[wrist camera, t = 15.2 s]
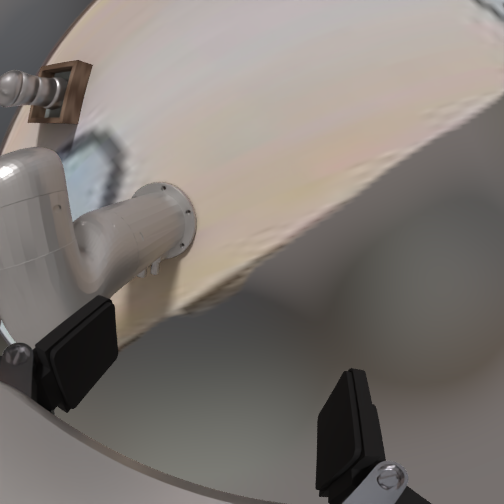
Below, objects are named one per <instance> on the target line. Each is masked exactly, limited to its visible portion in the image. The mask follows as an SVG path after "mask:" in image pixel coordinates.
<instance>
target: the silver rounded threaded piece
mask: <svg viewBox="0 0 504 504" xmlns="http://www.w3.org/2000/svg"><path fill="white" fill-rule="evenodd" d="M67 85H68V81H67V80H65V79H63V78H58V77H54V78H44V77H38V76H33V75H29V74H26V73H24V72H21V71H18V70H12V71H9V72H7V73H5V74H3V75H2V76H1V77H0V106H2V107H12V106H19V105H35V106H40V107H43V108H46V109H50V110H55V109H59V108H61V107H62V105H63V101H64V96H65V92H66V88H67Z"/></svg>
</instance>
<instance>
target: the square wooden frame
mask: <svg viewBox="0 0 504 504" xmlns="http://www.w3.org/2000/svg"><path fill="white" fill-rule="evenodd" d="M92 66H93V65H91V64H88V63H85V62H82V61H79V60H75V61H69V62H63V63H57V64H52V65H47V66H43V67H41V69H40V72H39V75H38V77H44V78H54V77H58V78H63V79H65V80H67V81H68V85H67V88H66V92H65V96H64V101H63V105H62V107H61V108H59V109H55V110H50V109H46V108H43V107H40V106H35V105H31V108H30V113H29V118H28V123H67V124H78V121H79V116H80V111H81V107H82V102H83V98H84V94H85V90H86V86H87V83H88V79H89V76H90V72H91V69H92Z"/></svg>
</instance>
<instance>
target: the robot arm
mask: <svg viewBox="0 0 504 504" xmlns="http://www.w3.org/2000/svg"><path fill="white" fill-rule="evenodd" d="M165 187H166V189H165ZM189 210H190V211H191V213H189ZM196 222H197V219H196V214H195V210H194V207H193V204H192V203H191V201H190V199H189V198H188V197H187V195H186V194H185V193H184V192H183V191H182V190H180V189H179V188H178V187H176V186H174V185H172V184H169V183H165V182H156V183H151V184H147V185H145V186H143V187H141V188H140V189H139V190H138V191H137V192H136V193H135V194H134V195H133V196H132V198H131V199H129V200H125V201H122V202H119V203H115V204H112V205H109V206H106V207H102V208H99V209H96V210H93V211H90V212H87V213H85V214H83V215H81V216H80V217H79V218H77V219H76V220H75V221H74V222H72V216H71V210H70V204H69V198H68V191H67V185H66V178H65V173H64V168H63V164H62V161H61V159H60V158H59V156H58V155H57V154H56V153H55V152H54V151H53V150H51V149H48V148H44V147H31V148H25V149H20V150H16V151H13V152H10V153H7V154H4V155H2V156H0V325H1V320H2V322H3V324H4V326H5V327H6V329H7V331H8V332H9V334H10V335H11V337H12V338H13V339H14V341H15V342H16V343H14V344H11V345H9V346H8V347H7V348H6V349H5V350H4V352H3V354H2V356H0V504H285V503H278V502H271V501H265V500H260V499H254V498H249V497H244V496H239V495H235V494H231V493H227V492H223V491H219V490H215V489H211V488H208V487H204V486H201V485H198V484H194V483H191V482H188V481H185V480H182V479H179V478H177V477H174V476H171V475H168V474H165V473H163V472H160V471H158V470H155V469H153V468H151V467H148V466H146V465H143V464H141V463H139V462H137V461H134V460H132V459H130V458H128V457H126V456H124V455H122V454H120V453H118V452H116V451H114V450H112V449H110V448H108V447H106V446H104V445H102V444H100V443H98V442H97V441H95V440H93V439H92V438H90V437H88V436H86V435H85V434H83V433H81V432H80V431H78V430H76V429H75V428H73V427H72V426H70V425H69V424H67V423H65V422H64V421H62V420H61V419H59V418H58V417H56V416H55V413H54V409H55V408H56V407H57V406H58V407H59V408H60V409H62V410H64V411H65V412H66V413H68V412H69V410H70V409H74V408H75V407H76V406H77V405H78V404H79V403H80V401H81V400H82V399H83V398H84V397H85V395H86V394H87V393H88V392H89V391H90V389H91V388H92V387H93V386H94V385H95V383H96V382H97V381H98V380H99V379H100V378H101V376H102V375H103V374H104V373H105V372H106V370H107V369H108V368H109V367H110V366H111V365H112V363H113V362H114V361H115V360H116V358H117V356H118V346H117V334H116V320H115V306H114V304H112V301H111V300H110V298H111V297H112V296H113V295H114V294H115V293H116V292H117V291H118V290H119V289H121V288H122V287H123V286H124V285H125V284H127V283H128V282H129V281H131V280H132V279H133V278H134V277H136V276H138V277H146V275H147V267H148V266H150V265H151V264H152V265H151V274H153V275H157V274H158V273H159V262H161V261H162V260H163V259H169V258H173V257H175V256H177V255H179V254H181V253H182V252H183V251H185V250H186V249H187V248H188V247H189V245H190V244H191V242H192V241H193V238H194V236H195V232H196ZM183 244H184V245H183ZM317 423H318V424H317V425H318V426H317V427H318V428H317V466H316V489H317V490H319V497H328V503H329V504H431V503H430V502H428V501H427V500H426V499H424V498H423V497H421V496H420V495H419V494H417V493H416V492H414V491H413V490H412V489H410V488H409V487H408V486H407V483H408V474H407V471H406V470H405V468H404V467H403V466H402V465H401V464H399V463H397V462H394V461H386V459H385V453H384V447H383V441H382V435H381V429H380V424H379V419H378V414H377V409H376V406H375V405H373V404H372V401H371V396H370V392H369V387H368V382H367V378H366V373H365V371H363V370H358V369H352V368H351V369H349V370H348V371H344V372H343V374H342V376H341V377H340V379H339V381H338V383H337V385H336V386H335V388H334V390H333V392H332V394H331V395H330V397H329V398H328V400H327V402H326V404H325V405H324V407H323V408H322V410H321V412H320V413H319V416H318V422H317Z"/></svg>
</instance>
